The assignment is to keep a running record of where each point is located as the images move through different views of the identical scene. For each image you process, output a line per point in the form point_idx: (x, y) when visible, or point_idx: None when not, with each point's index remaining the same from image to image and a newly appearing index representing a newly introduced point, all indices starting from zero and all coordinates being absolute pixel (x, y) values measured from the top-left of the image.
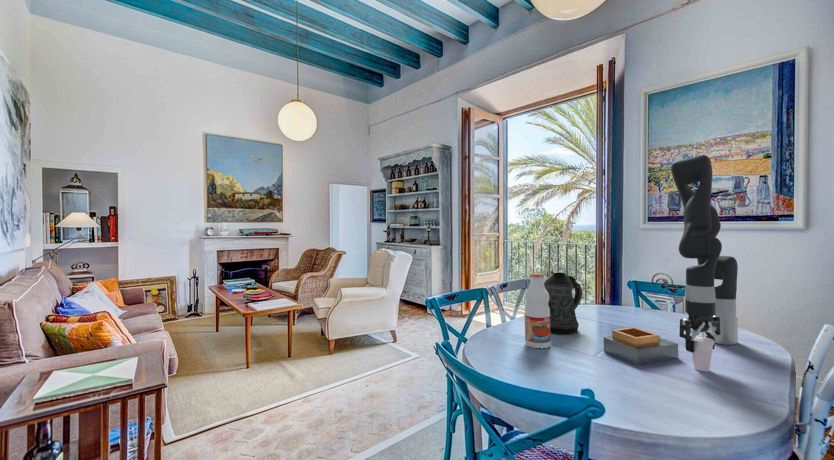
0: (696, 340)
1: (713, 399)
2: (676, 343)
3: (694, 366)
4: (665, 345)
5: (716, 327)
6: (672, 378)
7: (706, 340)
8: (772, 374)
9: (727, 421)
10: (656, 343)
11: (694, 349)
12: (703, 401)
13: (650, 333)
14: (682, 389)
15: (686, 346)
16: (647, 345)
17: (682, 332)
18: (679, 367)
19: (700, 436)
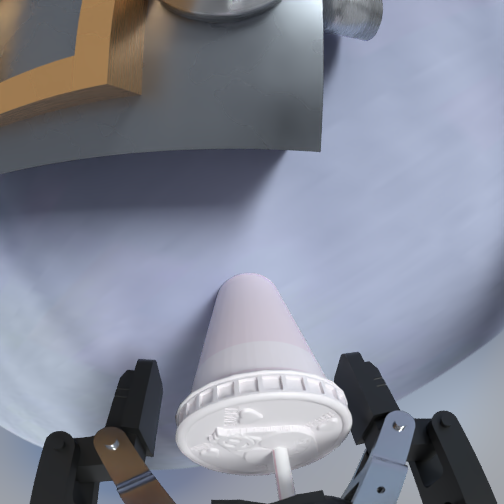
0: (185, 453)
1: (78, 416)
2: (310, 143)
3: (220, 290)
4: (154, 148)
5: (423, 491)
6: (45, 317)
7: (264, 461)
8: (414, 375)
9: None
10: (104, 100)
11: (159, 405)
12: (52, 409)
13: (81, 9)
14: (36, 368)
15: (119, 392)
16: (21, 120)
17: (60, 475)
18: (156, 251)
19: (3, 427)
